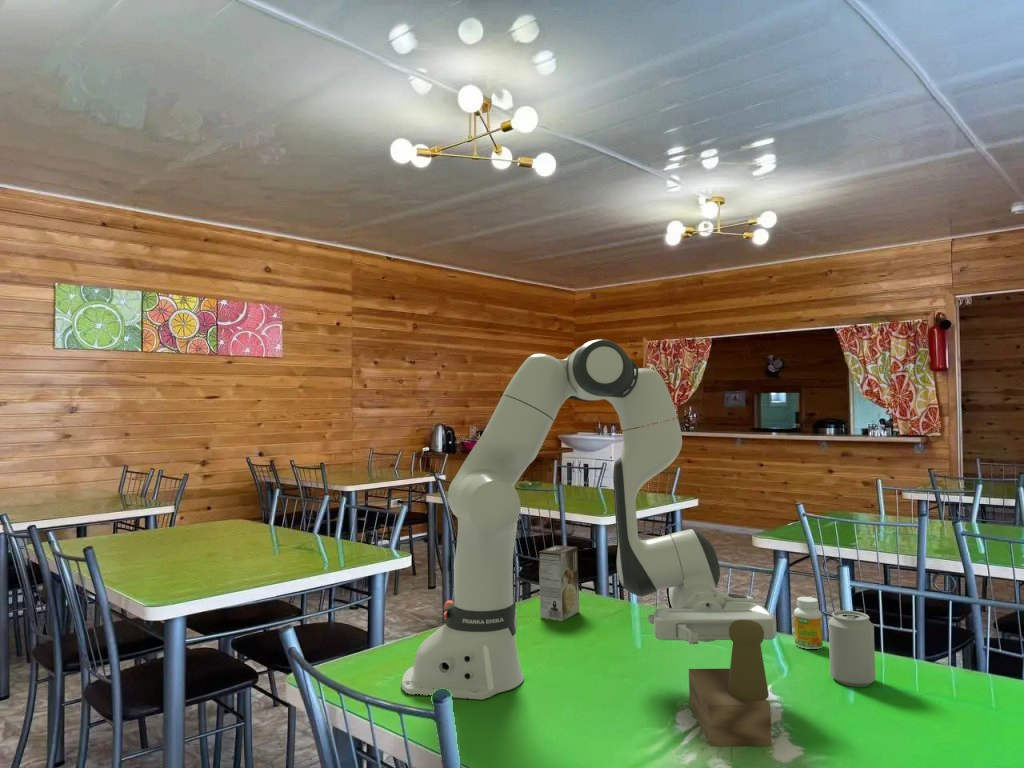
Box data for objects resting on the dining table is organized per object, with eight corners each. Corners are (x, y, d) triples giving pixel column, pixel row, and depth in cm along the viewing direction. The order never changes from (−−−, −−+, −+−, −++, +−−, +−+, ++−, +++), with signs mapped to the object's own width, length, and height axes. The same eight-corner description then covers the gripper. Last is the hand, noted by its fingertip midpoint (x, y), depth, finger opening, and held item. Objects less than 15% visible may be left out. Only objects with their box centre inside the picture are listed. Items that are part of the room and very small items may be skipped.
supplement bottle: (794, 649, 150) (793, 601, 151) (795, 641, 155) (793, 594, 156) (823, 651, 148) (821, 603, 149) (822, 643, 153) (821, 596, 154)
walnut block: (710, 745, 109) (709, 704, 109) (689, 704, 124) (688, 668, 124) (771, 745, 108) (770, 704, 109) (743, 704, 123) (742, 668, 123)
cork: (770, 702, 109) (767, 628, 110) (728, 699, 111) (725, 625, 111) (767, 687, 115) (765, 617, 115) (727, 684, 117) (725, 614, 117)
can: (875, 676, 135) (872, 610, 135) (876, 691, 128) (873, 621, 128) (830, 670, 138) (828, 606, 138) (829, 685, 131) (827, 617, 131)
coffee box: (556, 608, 183) (555, 544, 184) (579, 612, 180) (578, 546, 181) (539, 618, 176) (537, 551, 176) (563, 622, 172) (561, 553, 173)
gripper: (645, 597, 132) (657, 619, 118) (760, 596, 131) (786, 618, 117) (646, 632, 132) (658, 659, 118) (761, 631, 131) (787, 658, 117)
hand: (723, 638), depth 117 cm, fingers open, 8 cm apart
